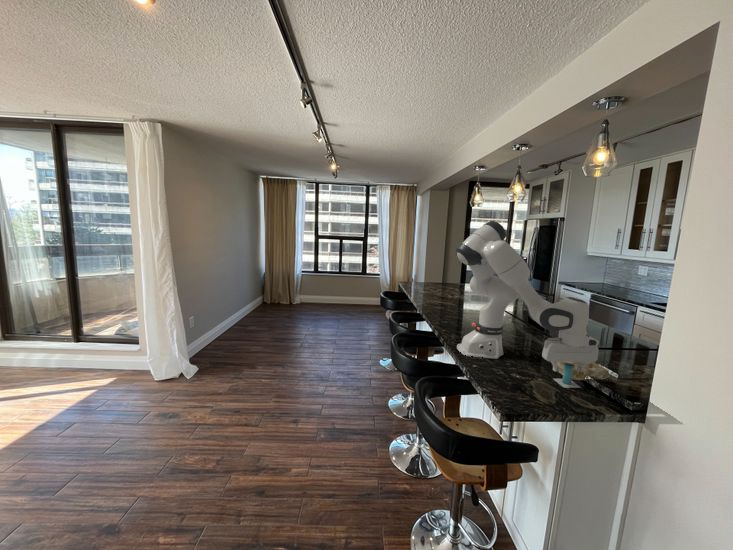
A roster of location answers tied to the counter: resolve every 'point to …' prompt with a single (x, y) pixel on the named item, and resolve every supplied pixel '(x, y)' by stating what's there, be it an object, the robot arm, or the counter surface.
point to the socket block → (585, 370)
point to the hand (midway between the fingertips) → (567, 371)
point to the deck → (573, 385)
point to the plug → (567, 373)
